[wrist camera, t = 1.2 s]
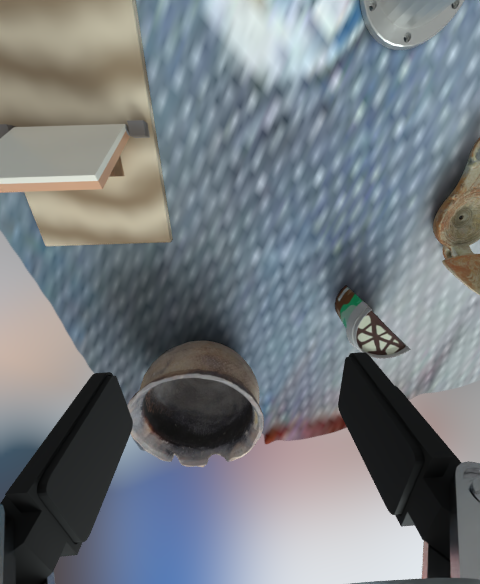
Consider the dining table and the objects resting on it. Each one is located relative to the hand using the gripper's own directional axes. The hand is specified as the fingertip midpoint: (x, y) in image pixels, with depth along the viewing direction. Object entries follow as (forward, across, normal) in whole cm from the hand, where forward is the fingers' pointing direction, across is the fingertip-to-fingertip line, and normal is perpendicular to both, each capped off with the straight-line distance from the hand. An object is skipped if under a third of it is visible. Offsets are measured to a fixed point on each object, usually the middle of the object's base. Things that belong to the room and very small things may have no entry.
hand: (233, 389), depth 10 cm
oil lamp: (+32, -36, -2) cm, 48 cm away
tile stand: (+32, +19, -16) cm, 41 cm away
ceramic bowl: (+33, +8, +27) cm, 43 cm away
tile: (+25, +19, -12) cm, 34 cm away
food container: (+32, -22, +16) cm, 42 cm away
